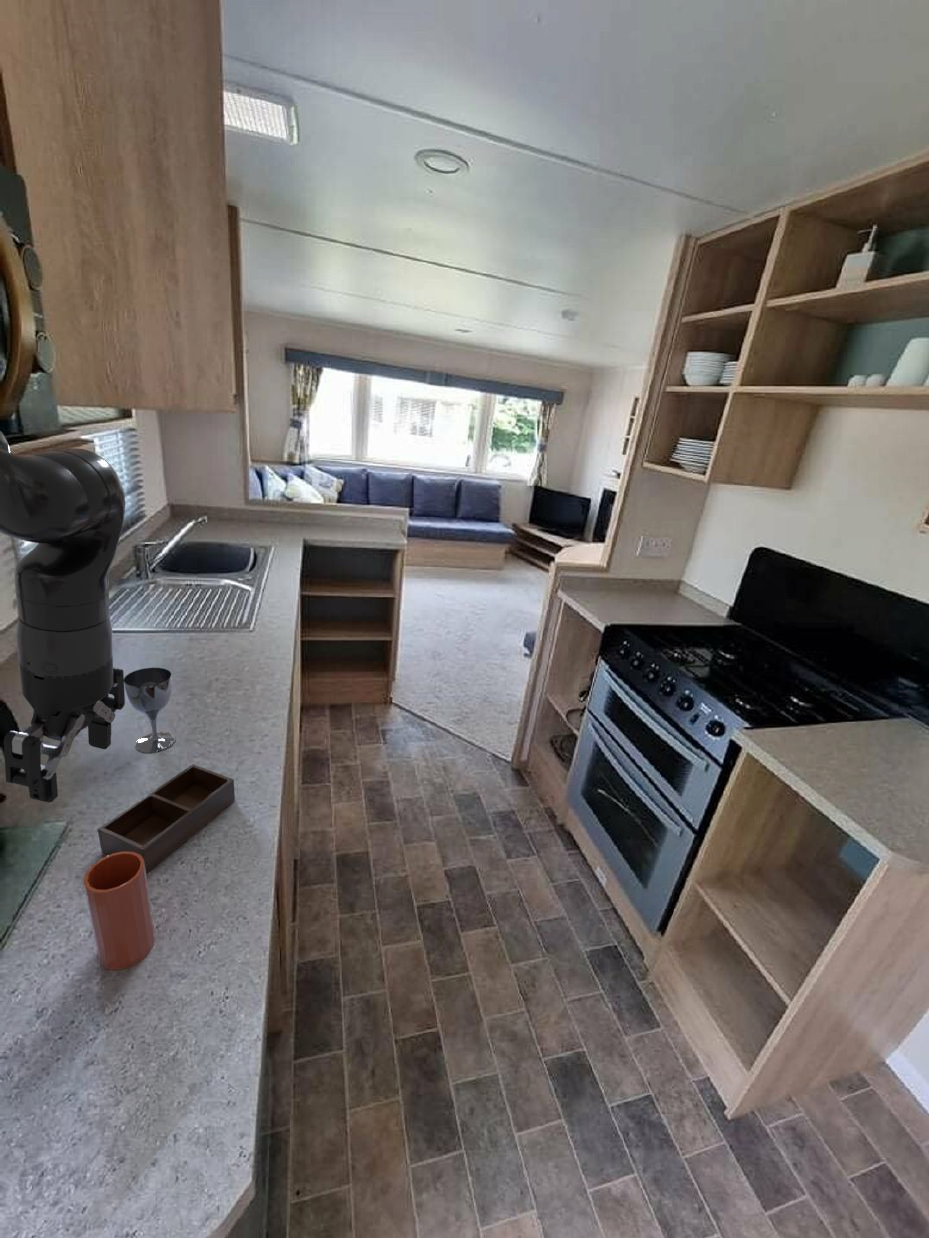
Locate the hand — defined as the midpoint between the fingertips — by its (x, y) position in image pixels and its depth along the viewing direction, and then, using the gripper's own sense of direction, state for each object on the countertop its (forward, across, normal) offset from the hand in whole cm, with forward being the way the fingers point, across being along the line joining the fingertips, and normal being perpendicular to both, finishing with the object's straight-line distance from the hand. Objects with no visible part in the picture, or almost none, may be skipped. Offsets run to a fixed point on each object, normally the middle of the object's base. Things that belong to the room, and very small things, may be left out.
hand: (74, 770), depth 58 cm
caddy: (+27, -17, +3) cm, 32 cm away
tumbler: (+24, +4, +8) cm, 26 cm away
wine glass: (+32, -38, -12) cm, 51 cm away
